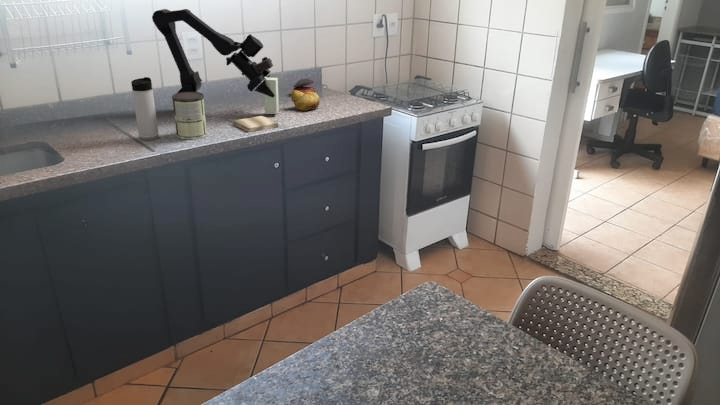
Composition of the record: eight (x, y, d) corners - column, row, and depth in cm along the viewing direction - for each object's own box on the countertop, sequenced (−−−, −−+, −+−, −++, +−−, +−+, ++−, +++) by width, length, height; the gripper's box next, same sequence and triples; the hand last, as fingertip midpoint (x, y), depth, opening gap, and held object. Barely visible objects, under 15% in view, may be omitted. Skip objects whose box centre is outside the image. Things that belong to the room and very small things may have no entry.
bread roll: (312, 104, 235) (312, 85, 231) (327, 108, 228) (327, 89, 225) (288, 108, 226) (288, 89, 223) (303, 113, 220) (303, 93, 217)
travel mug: (163, 136, 187) (156, 78, 179) (150, 141, 181) (142, 81, 173) (148, 134, 189) (140, 76, 181) (135, 139, 183) (126, 79, 175)
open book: (249, 132, 194) (249, 128, 194) (233, 124, 203) (233, 120, 202) (278, 126, 201) (278, 123, 201) (261, 119, 210) (261, 115, 209)
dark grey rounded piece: (296, 106, 248) (285, 87, 244) (301, 99, 256) (291, 80, 253) (317, 97, 244) (306, 77, 240) (322, 89, 252) (311, 70, 249)
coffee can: (171, 134, 189) (166, 94, 184) (197, 129, 196) (194, 90, 190) (185, 141, 183) (181, 100, 177) (212, 135, 189) (209, 95, 184)
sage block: (265, 112, 214) (264, 79, 209) (267, 110, 218) (266, 77, 213) (276, 113, 214) (275, 80, 209) (278, 110, 218) (277, 77, 213)
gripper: (254, 55, 198) (285, 86, 202) (264, 47, 215) (292, 76, 219) (234, 75, 201) (265, 106, 206) (245, 66, 218) (273, 95, 223)
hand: (275, 95), depth 213 cm, fingers closed on sage block, 4 cm apart
